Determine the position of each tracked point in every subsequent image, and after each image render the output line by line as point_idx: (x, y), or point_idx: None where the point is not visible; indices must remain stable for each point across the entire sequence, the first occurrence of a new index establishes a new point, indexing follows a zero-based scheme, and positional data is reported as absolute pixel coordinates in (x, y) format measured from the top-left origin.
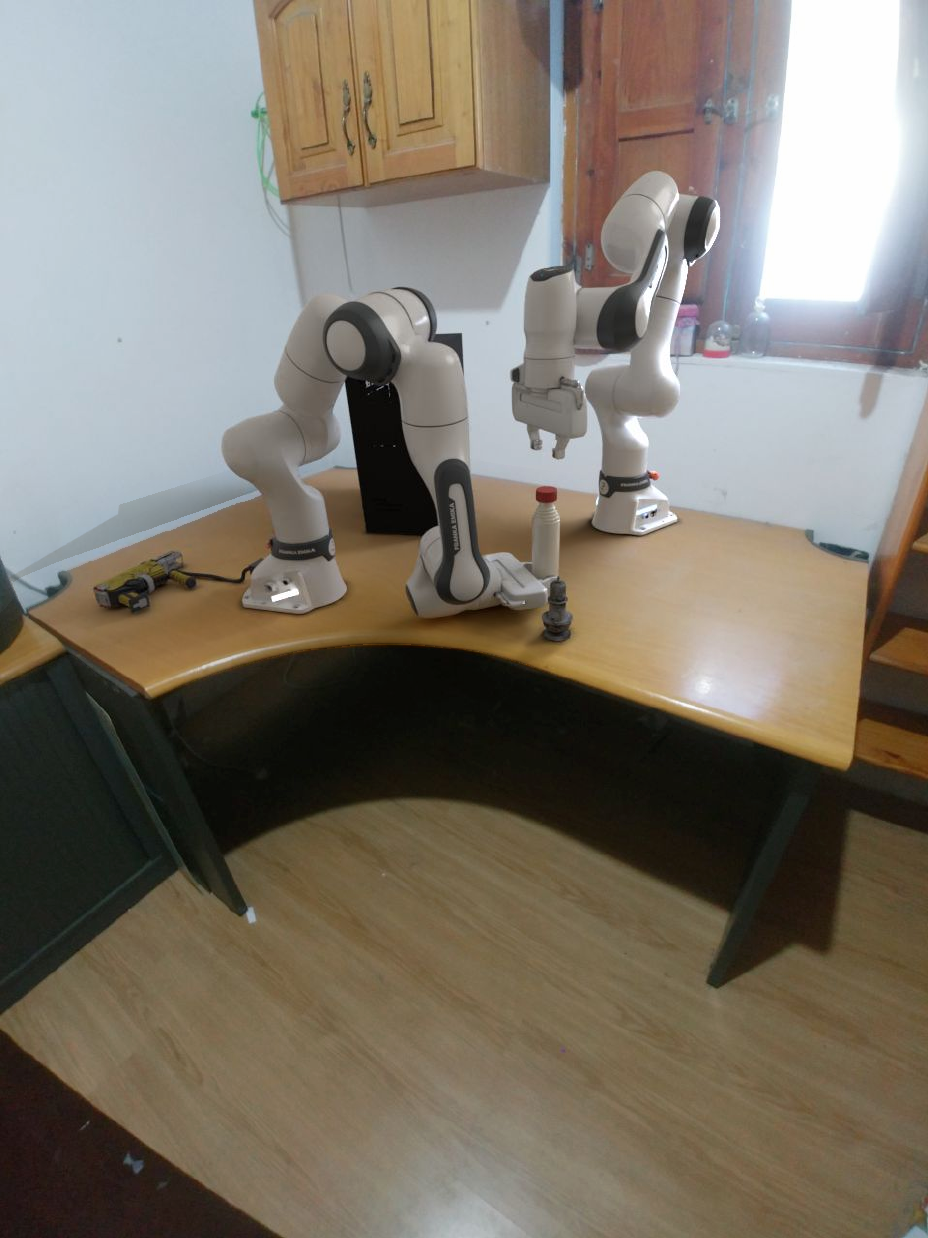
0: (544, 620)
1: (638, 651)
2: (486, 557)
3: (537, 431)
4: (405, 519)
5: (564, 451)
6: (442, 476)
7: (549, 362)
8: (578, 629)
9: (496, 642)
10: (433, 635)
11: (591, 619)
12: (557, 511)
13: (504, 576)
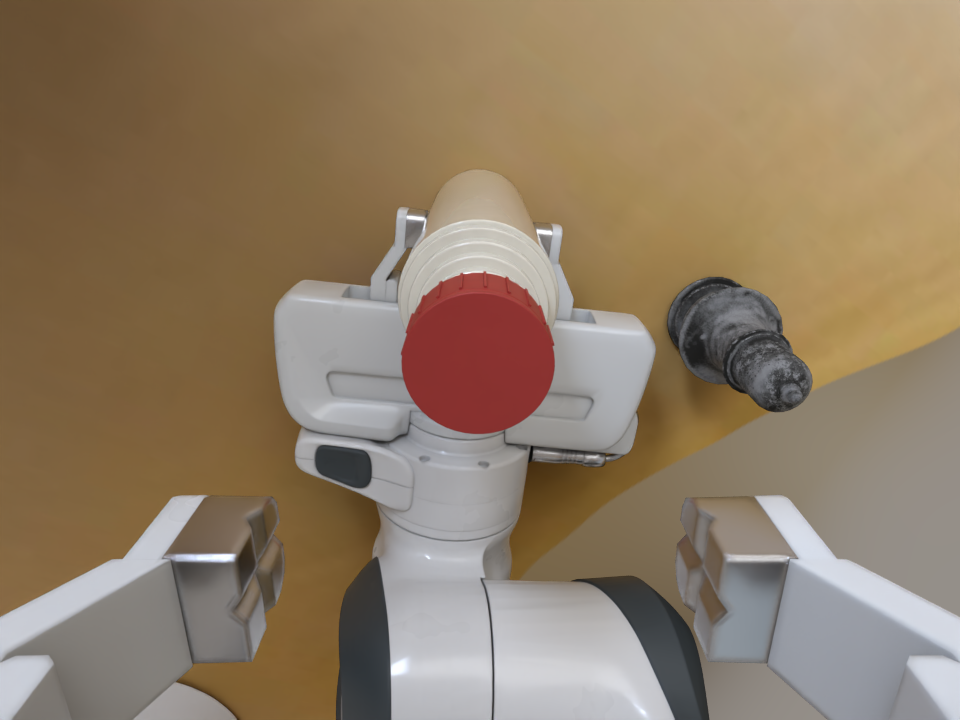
0: (724, 382)
1: (939, 159)
2: (315, 414)
3: (60, 650)
4: None
5: (820, 543)
6: None
7: None
8: (726, 244)
9: (642, 471)
10: None
11: (703, 170)
12: (502, 246)
13: None
